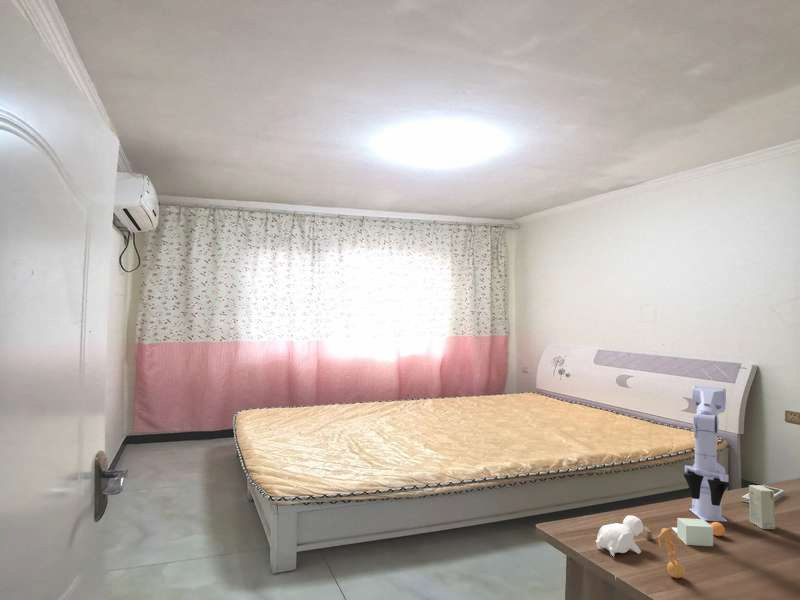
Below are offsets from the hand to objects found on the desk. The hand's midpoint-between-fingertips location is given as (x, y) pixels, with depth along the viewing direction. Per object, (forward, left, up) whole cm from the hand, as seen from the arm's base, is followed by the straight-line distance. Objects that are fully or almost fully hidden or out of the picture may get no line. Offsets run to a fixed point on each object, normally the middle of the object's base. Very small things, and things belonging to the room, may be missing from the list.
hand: (705, 501), depth 149 cm
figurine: (+19, -17, -13) cm, 29 cm away
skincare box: (-18, +27, -13) cm, 35 cm away
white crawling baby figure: (+5, -26, -13) cm, 29 cm away
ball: (-8, +8, -11) cm, 16 cm away
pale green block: (-3, -1, -13) cm, 13 cm away
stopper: (-8, -15, -13) cm, 22 cm away
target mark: (-8, 0, -13) cm, 15 cm away
